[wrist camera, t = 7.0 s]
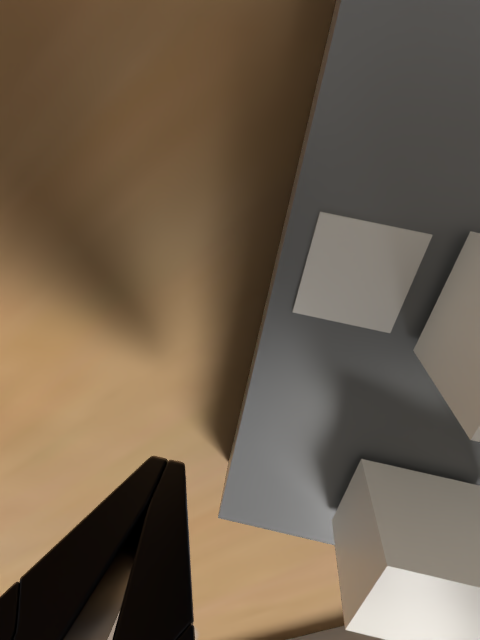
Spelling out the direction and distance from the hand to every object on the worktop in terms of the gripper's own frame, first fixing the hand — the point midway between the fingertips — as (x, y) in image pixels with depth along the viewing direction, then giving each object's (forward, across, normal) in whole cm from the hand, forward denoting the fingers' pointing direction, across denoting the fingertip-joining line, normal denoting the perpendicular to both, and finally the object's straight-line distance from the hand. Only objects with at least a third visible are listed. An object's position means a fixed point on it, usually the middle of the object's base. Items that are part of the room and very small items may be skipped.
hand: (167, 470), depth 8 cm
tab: (+1, -6, 0) cm, 6 cm away
